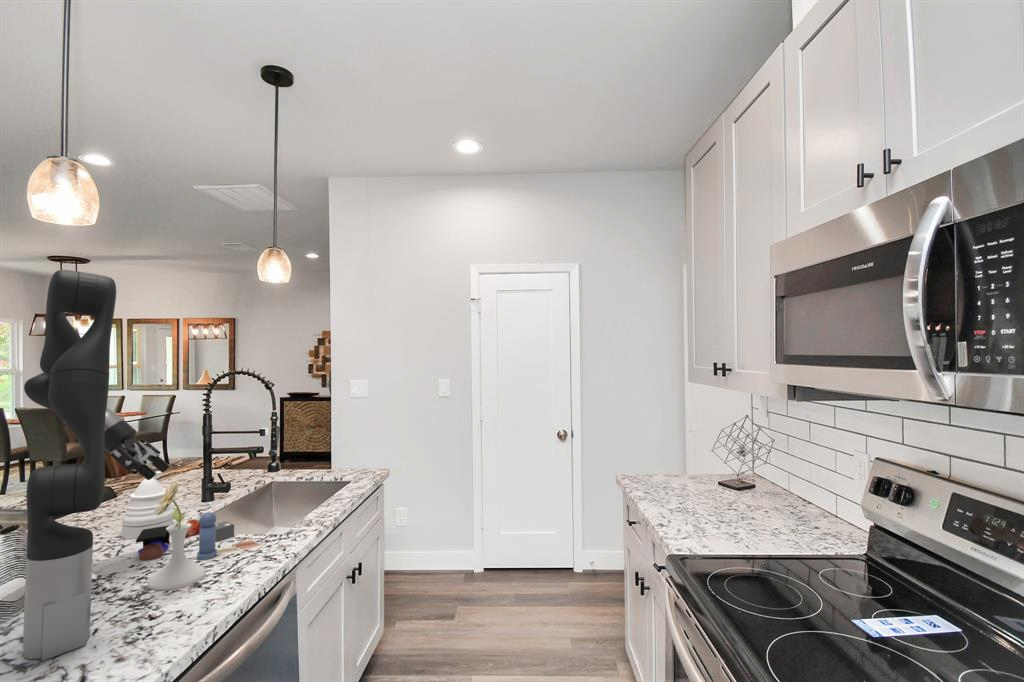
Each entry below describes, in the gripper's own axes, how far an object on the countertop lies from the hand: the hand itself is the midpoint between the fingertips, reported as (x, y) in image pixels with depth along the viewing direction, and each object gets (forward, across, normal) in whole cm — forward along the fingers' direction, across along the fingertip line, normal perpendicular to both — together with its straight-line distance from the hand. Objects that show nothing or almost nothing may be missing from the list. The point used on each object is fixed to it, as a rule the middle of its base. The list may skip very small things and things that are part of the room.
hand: (159, 473), depth 127 cm
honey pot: (+8, +32, +27) cm, 43 cm away
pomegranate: (+18, +21, +16) cm, 33 cm away
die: (+24, +15, +10) cm, 30 cm away
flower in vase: (+23, -14, +11) cm, 29 cm away
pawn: (+24, 0, +8) cm, 25 cm away
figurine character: (+14, +9, +20) cm, 26 cm away
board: (+28, +3, +6) cm, 29 cm away
